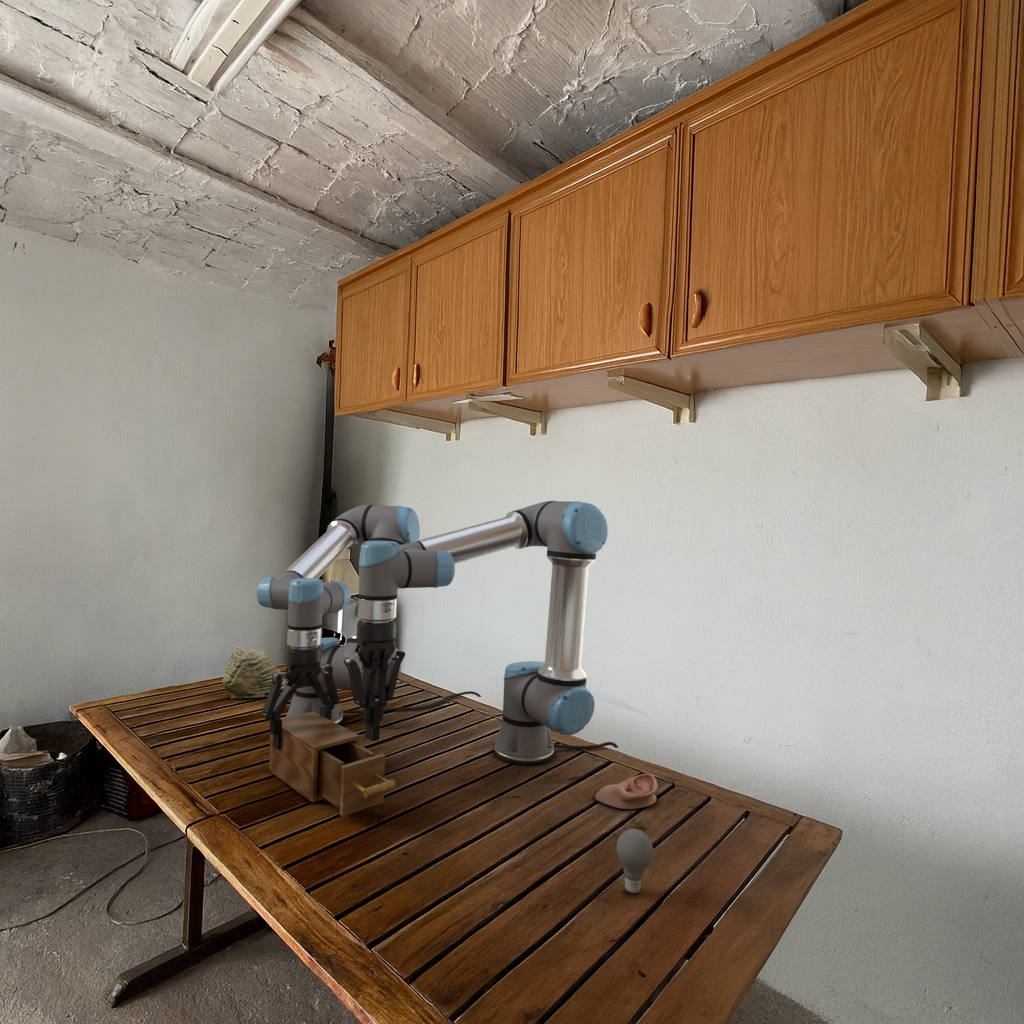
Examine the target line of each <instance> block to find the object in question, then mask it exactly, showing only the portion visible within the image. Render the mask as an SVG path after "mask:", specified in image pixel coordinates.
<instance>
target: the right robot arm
mask: <svg viewBox="0 0 1024 1024" xmlns="http://www.w3.org/2000/svg"><path fill="white" fill-rule="evenodd" d="M608 535H609V526H608V522H607V518H606V517H605V515H604V514H603V512H602V511H601V510H600V508H599V507H597V506H596V505H594V504H592V503H589V502H583V501H579V500H578V501H575V500H574V501H570V500H569V501H567V500H565V501H564V500H561V501H560V500H547V501H542V502H538V503H534V504H531V505H528V506H525V507H522V508H519V509H516V510H515V509H514V510H512V511H508V513H507V514H506V515H505V516H503V517H501V518H497V519H493V520H489V521H485V522H482V523H478V524H475V525H471V526H467V527H463V528H460V529H455V530H452V531H448V532H444V533H440V534H437V535H433V536H430V537H426V538H422V539H419V540H418V541H415V542H410V543H407V544H403V545H400V544H398V543H397V542H393V541H366V542H364V543H361V546H360V552H359V561H358V597H357V612H356V613H357V615H356V616H357V618H359V619H360V620H359V621H358V622H357V621H356V622H357V641H358V644H357V647H356V649H355V653H354V654H353V655H352V656H351V657H350V658H345V659H344V663H345V665H346V667H347V668H348V672H349V677H350V682H351V688H352V691H351V693H352V699H353V703H354V704H355V705H357V706H359V707H361V708H362V710H363V713H362V722H363V724H365V733H364V737H365V739H367V740H369V741H371V742H376V741H379V740H380V733H381V732H380V729H381V722H382V721H383V720H384V712H383V709H384V708H385V707H386V706H388V701H389V702H390V701H392V700H393V698H394V695H395V690H396V687H397V686H396V685H397V682H398V677H399V673H400V668H401V664H402V662H403V660H404V659H405V657H406V652H405V651H402V650H400V649H398V648H397V646H396V642H395V639H396V635H397V621H396V620H395V619H396V618H397V608H398V591H399V589H402V590H403V589H404V590H405V589H419V588H420V589H421V588H423V589H425V588H434V589H437V588H440V587H442V588H443V587H448V586H449V585H451V584H452V583H453V580H454V578H455V574H456V564H459V563H463V562H466V561H470V560H473V559H476V558H480V557H484V556H486V555H491V554H493V553H496V552H500V551H503V550H507V549H510V548H511V549H512V548H515V549H517V550H521V549H525V548H529V547H544V548H546V558H547V559H548V560H549V561H550V563H551V579H550V592H549V606H548V617H547V618H548V619H547V632H546V641H545V642H546V643H545V655H544V656H545V657H544V661H538V660H537V661H535V660H534V661H533V660H529V661H516V662H512V663H509V664H507V665H506V667H505V670H504V676H503V701H502V702H503V704H502V721H501V725H500V727H499V730H498V733H497V735H496V738H495V741H494V745H493V752H494V754H495V756H496V757H497V758H499V759H500V760H502V761H505V762H508V763H510V764H511V763H512V764H516V765H538V764H543V763H547V762H549V761H551V760H552V759H553V757H554V755H555V748H559V749H570V750H591V749H599V748H603V747H607V746H612V747H614V748H615V749H618V748H619V746H618V745H617V744H616V743H615V742H613V741H605V742H602V743H598V744H591V745H571V744H570V745H569V744H559V743H554V740H553V738H552V734H551V731H552V732H554V733H558V734H559V735H563V736H572V735H573V736H574V735H575V734H578V733H579V732H581V731H582V730H584V728H585V727H586V726H587V725H588V724H589V723H590V721H591V719H592V717H593V715H594V712H595V706H596V703H595V697H594V695H593V694H592V693H591V691H590V690H589V689H588V688H587V678H588V677H587V673H586V672H585V671H584V669H583V668H582V657H583V646H584V631H585V617H586V606H587V605H586V604H587V592H588V579H589V568H590V566H591V565H592V564H593V563H595V562H596V558H597V553H598V552H599V551H601V550H602V549H603V546H604V545H606V542H607V539H608ZM390 657H391V658H390ZM389 659H390V660H389ZM359 660H360V661H361V663H362V670H363V683H362V677H361V672H360V668H359V665H360V663H359ZM388 661H389V663H388ZM386 671H387V672H386Z"/></svg>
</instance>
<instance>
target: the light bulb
mask: <svg viewBox="0 0 1024 1024" xmlns="http://www.w3.org/2000/svg"><path fill="white" fill-rule="evenodd" d="M615 849H616V854H617V857H618V859H619V861H620V863H621V865H622V867H623V873H624V874H623V875H624V876H625V878H624V888H625V890H627V891H628V892H630V893H634V894H635V893H639V892H640V891H641V889H642V887H641V886H642V879H643V877H644V875H645V871H646V868H647V867H648V866H649V864H650V863H651V861H652V859H653V855H654V847H653V843H652V841H651V838H649V836H648V835H647V834H646V833H645V832H643V831H642V830H641V829H636V828H629V829H627V830H625V831H623V832H622V833H621V834H620V835H619V837H618V839H617V841H616V847H615Z"/></svg>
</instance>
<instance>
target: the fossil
mask: <svg viewBox="0 0 1024 1024" xmlns="http://www.w3.org/2000/svg"><path fill="white" fill-rule="evenodd" d="M274 672H276V673H282V672H281V669H279V668H278V667H277V665H276V663H275V662H274V660H273V659H272V658H271V657H270V656H269V655H268V654H267V653H266V652H265V650H264V649H263V648H260V647H258V648H251V647H247V646H246V647H245V646H238V647H237V648H236V649H235V650H233V651H232V653H231V656H230V657H229V659H228V660H227V663H226V666H225V668H224V671H223V675H222V676H223V677H222V685H223V687H224V688H225V690H226V691H228V693H229V698H230V699H250V698H264V697H267V696H268V693H269V690H270V687H271V684H272V674H273V673H274ZM286 683H287V679H286V678H285V679H284V682H282V687H281V690H280V693H279V695H281V694H282V692H283V690H284V686H285V684H286Z"/></svg>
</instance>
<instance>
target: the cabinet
mask: <svg viewBox="0 0 1024 1024" xmlns="http://www.w3.org/2000/svg"><path fill="white" fill-rule="evenodd" d="M280 719H281V720H282V743H281V749H280V750H277V749H276V748H275V747H273V735H272V734H271V733H270V732H269V760H268V761H269V762H268V763H269V764H268V765H269V766H268V771H269V773H271V774H273V775H274V776H275V777H277V778H278V779H280V780H281V781H282V782H284V783H285V784H286V785H288V786H289V787H291V788H292V789H293V790H294V791H295V792H297V793H299V794H300V795H301V796H303V797H304V798H306V799H307V800H308V801H309V802H311V803H317V802H319V801H323V800H326V799H325V798H323V797H322V796H320V795H319V794H317V770H318V750H321V749H325V748H329V747H332V746H336V745H340V744H343V743H347V742H351V741H353V742H354V743H356V744H358V745H360V734H357V733H356V732H354V731H352V730H350V729H348V728H346V727H344V726H343V725H341V724H340V725H339V724H337V723H335V722H333V721H331V720H329V719H327V718H325V717H323V716H321V715H319V714H318V713H316V712H314V711H313V712H308V713H304V714H299V715H295V716H290V717H286V716H285V717H283V718H280Z"/></svg>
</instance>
